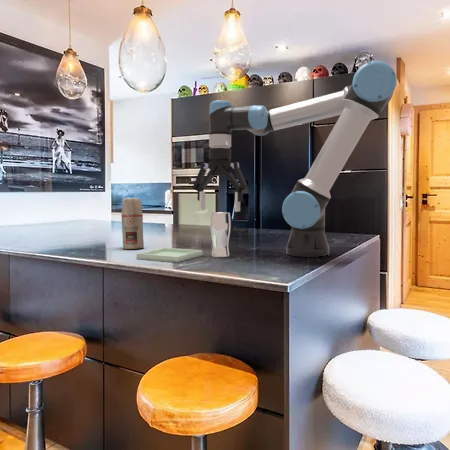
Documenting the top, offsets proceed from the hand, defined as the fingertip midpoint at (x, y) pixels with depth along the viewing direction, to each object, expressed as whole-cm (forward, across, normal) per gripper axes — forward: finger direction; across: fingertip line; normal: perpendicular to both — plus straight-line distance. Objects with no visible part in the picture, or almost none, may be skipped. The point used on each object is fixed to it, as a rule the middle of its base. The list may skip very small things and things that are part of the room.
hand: (219, 210), depth 140 cm
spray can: (+16, +38, -1) cm, 42 cm away
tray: (+16, +14, +10) cm, 23 cm away
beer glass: (+16, 0, 0) cm, 16 cm away
